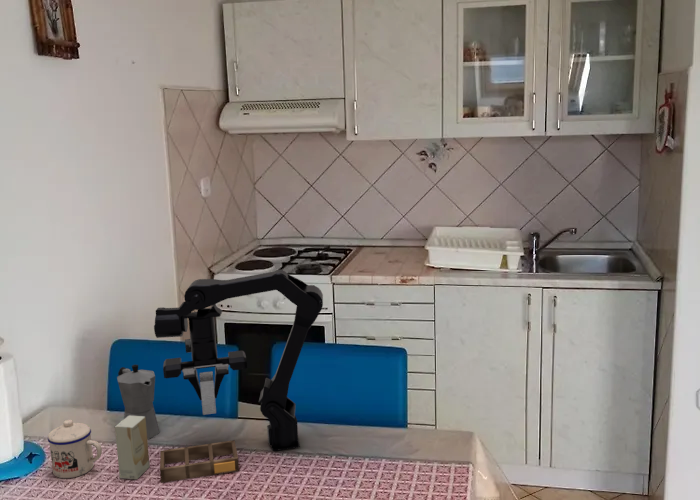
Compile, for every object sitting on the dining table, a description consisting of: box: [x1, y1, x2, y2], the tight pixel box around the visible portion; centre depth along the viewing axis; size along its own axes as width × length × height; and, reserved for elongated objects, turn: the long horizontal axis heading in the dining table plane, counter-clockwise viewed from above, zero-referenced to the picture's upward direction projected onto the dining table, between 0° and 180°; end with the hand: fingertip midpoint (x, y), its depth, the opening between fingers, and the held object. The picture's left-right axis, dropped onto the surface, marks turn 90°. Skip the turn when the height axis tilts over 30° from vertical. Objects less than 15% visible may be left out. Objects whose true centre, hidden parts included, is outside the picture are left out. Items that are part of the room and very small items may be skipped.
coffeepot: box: [116, 364, 161, 440], centre depth 173 cm, size 15×9×18 cm, turn 44°
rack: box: [159, 439, 240, 484], centre depth 156 cm, size 17×10×3 cm, turn 104°
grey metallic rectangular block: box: [199, 370, 217, 416], centre depth 162 cm, size 3×6×8 cm, turn 13°
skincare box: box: [114, 415, 151, 480], centre depth 154 cm, size 6×4×12 cm
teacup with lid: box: [47, 419, 103, 479], centre depth 156 cm, size 12×9×12 cm
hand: (208, 398), depth 163 cm, fingers closed on grey metallic rectangular block, 3 cm apart
